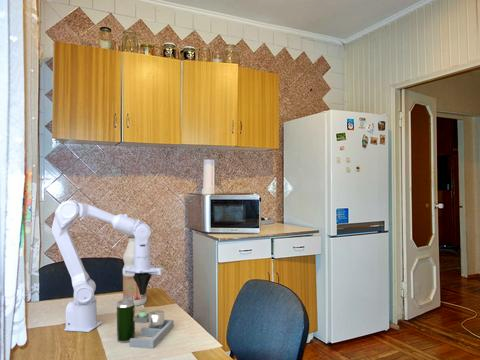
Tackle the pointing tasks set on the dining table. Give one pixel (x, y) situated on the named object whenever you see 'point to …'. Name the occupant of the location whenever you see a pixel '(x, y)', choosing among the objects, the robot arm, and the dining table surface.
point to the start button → (143, 314)
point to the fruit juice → (131, 276)
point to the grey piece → (152, 335)
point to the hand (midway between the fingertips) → (142, 294)
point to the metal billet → (156, 319)
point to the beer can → (125, 320)
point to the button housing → (142, 319)
